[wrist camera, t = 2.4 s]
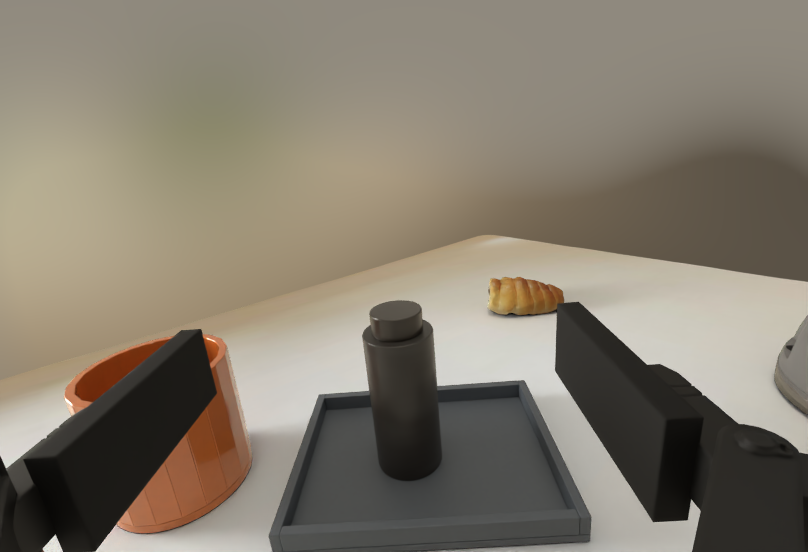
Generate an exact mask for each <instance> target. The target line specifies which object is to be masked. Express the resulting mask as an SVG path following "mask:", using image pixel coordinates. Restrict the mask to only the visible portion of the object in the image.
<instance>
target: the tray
mask: <svg viewBox="0 0 808 552" xmlns="http://www.w3.org/2000/svg"><path fill="white" fill-rule="evenodd" d="M437 392H438V406H439V419H440V433H441V447H442V460H441V463H440V465H439V466H438V468H437V469H436V470H435V471H434V472H433V473H431V474H430V475H428V476H427V477H424V478H422V479H418V480H413V481H402V480H397V479H394V478H392V477H390V476H388V475H387V474H386V473H384V471H383V470H382V469H381V467H380V465H379V461H378V453H377V445H376V437H375V430H374V422H373V414H372V407H371V399H370V391H363V392H349V393H335V394H322V395H319V396H318V399H317V402H316V405H315V407H314V410H313V413H312V416H311V419H310V421H309V424H308V427H307V430H306V433H305V435H304V438H303V441H302V444H301V447H300V449H299V452H298V455H297V458H296V461H295V463H294V466H293V469H292V472H291V475H290V477H289V480H288V483H287V486H286V489H285V492H284V494H283V497H282V500H281V503H280V506H279V508H278V511H277V514H276V517H275V520H274V522H273V525H272V528H271V531H270V534H269V539H270V543H271V547H272V551H273V552H405V551H423V550H441V549H459V548H477V547H495V546H512V545H530V544H548V543H566V542H584V541H590V530H591V516H590V513H589V511H588V509H587V507H586V505H585V503H584V501H583V499H582V497H581V495H580V493H579V491H578V489H577V487H576V485H575V483H574V481H573V479H572V477H571V475H570V473H569V471H568V468H567V466H566V464H565V462H564V460H563V458H562V456H561V454H560V452H559V450H558V448H557V446H556V444H555V442H554V440H553V438H552V436H551V434H550V432H549V430H548V428H547V426H546V423H545V421H544V419H543V417H542V415H541V413H540V411H539V409H538V407H537V405H536V403H535V401H534V399H533V397H532V395H531V393H530V391H529V389H528V387H527V385H526V383H525V381H524V380H521V381H506V382H491V383H477V384H463V385H449V386H437Z"/></svg>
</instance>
